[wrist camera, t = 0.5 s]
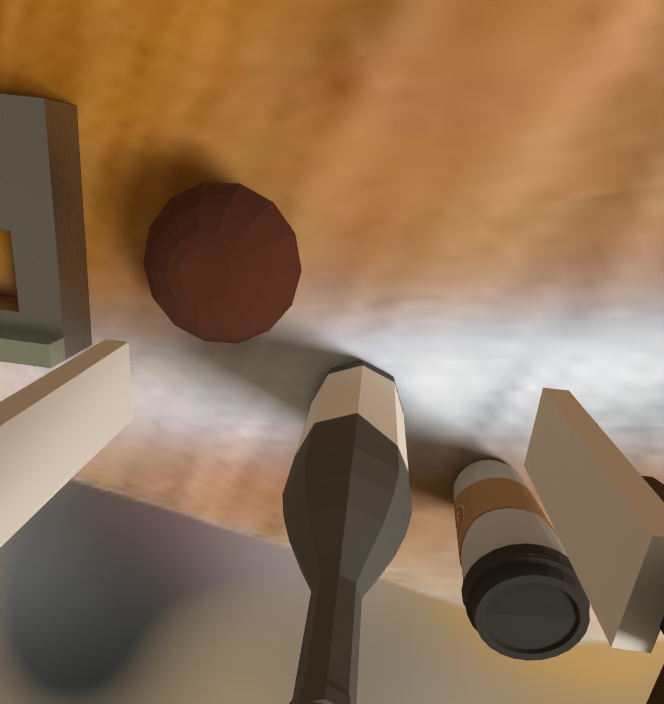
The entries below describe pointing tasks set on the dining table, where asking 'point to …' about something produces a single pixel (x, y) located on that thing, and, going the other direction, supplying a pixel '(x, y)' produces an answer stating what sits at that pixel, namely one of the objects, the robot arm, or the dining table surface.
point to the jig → (43, 232)
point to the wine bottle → (345, 518)
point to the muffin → (222, 262)
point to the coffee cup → (515, 567)
